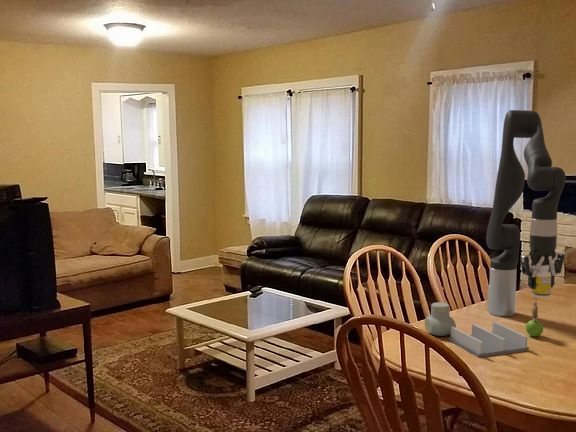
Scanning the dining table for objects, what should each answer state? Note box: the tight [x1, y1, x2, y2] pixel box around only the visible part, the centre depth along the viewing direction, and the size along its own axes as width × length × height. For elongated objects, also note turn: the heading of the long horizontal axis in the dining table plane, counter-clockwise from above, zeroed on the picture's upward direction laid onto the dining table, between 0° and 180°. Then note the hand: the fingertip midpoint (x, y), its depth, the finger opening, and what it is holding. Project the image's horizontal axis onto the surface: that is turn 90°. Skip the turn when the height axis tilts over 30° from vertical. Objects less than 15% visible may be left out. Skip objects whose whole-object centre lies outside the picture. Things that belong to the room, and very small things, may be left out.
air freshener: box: [423, 301, 457, 337], centre depth 202 cm, size 11×8×10 cm
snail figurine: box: [525, 297, 544, 337], centre depth 199 cm, size 5×6×12 cm
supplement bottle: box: [530, 265, 552, 299], centre depth 185 cm, size 5×5×10 cm
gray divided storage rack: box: [448, 321, 530, 358], centre depth 190 cm, size 16×18×4 cm
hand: (540, 287), depth 185 cm, fingers closed on supplement bottle, 5 cm apart
